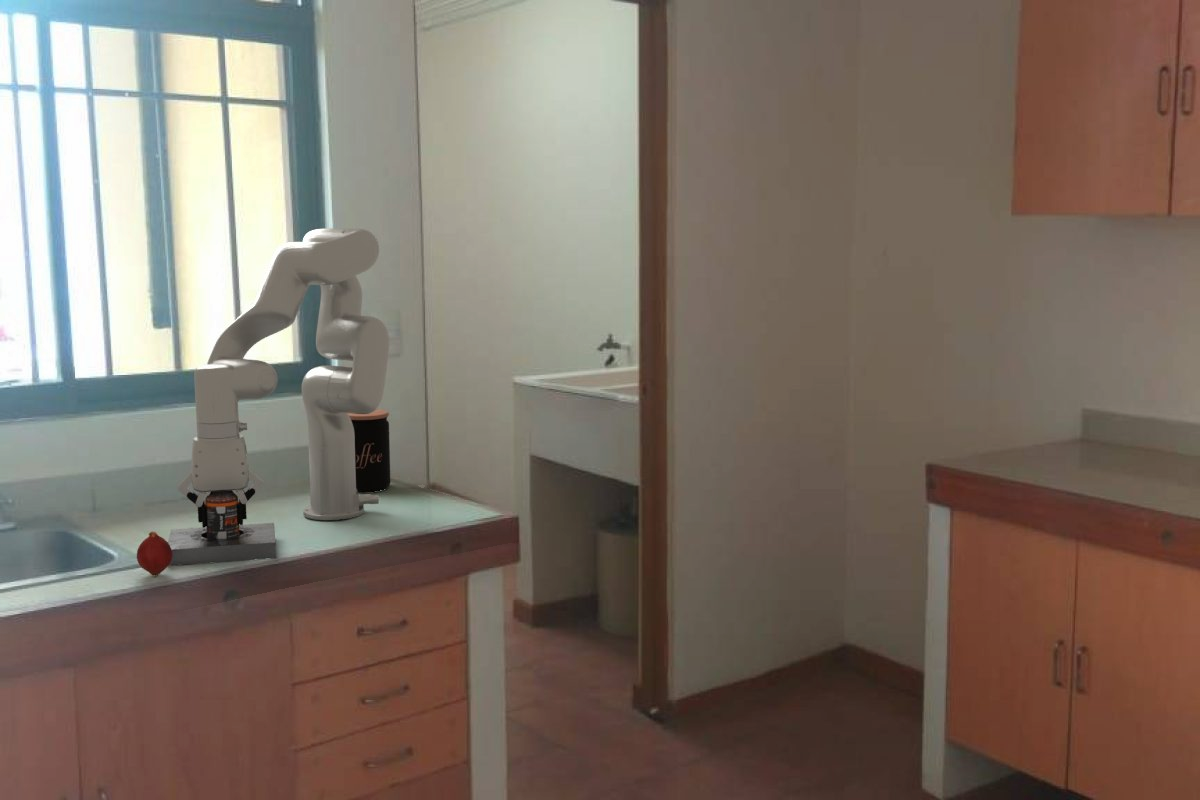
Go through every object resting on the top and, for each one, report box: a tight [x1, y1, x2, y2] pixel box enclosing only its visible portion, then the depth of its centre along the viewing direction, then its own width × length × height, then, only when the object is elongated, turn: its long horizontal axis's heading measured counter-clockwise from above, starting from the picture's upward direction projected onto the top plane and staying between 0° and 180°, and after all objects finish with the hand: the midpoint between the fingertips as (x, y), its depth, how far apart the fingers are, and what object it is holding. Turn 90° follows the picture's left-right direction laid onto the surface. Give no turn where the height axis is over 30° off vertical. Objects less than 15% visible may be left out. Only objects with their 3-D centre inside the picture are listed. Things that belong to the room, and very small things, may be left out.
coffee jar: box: [348, 408, 391, 493], centre depth 274 cm, size 11×11×18 cm
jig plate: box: [167, 522, 277, 567], centre depth 222 cm, size 19×15×3 cm
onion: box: [136, 530, 172, 577], centre depth 206 cm, size 6×6×8 cm
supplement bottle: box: [204, 490, 240, 539], centre depth 223 cm, size 6×6×11 cm
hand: (222, 523), depth 223 cm, fingers closed on supplement bottle, 5 cm apart
